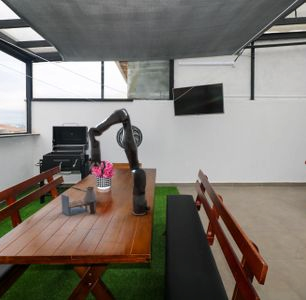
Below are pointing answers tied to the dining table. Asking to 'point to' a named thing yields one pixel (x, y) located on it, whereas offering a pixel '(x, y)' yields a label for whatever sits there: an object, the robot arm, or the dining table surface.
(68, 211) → the grey u-shaped bracket
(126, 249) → the dining table surface
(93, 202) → the remote
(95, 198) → the coffee pot
